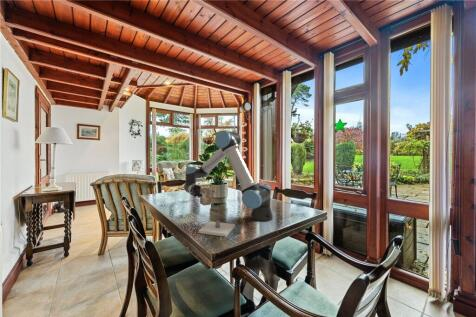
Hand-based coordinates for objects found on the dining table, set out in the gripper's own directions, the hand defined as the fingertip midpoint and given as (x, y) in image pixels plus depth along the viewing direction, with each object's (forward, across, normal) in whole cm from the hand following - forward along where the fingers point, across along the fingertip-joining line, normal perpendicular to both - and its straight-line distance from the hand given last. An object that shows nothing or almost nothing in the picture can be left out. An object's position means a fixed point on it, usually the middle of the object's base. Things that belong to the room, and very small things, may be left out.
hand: (209, 195), depth 130 cm
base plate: (+10, -1, -18) cm, 20 cm away
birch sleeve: (-5, 0, -6) cm, 8 cm away
